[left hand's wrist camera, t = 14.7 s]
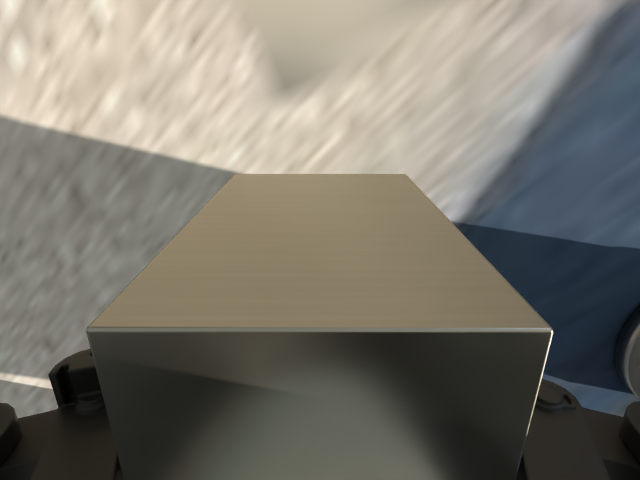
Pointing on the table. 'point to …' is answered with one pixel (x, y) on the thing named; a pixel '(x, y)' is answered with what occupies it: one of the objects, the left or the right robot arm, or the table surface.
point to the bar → (319, 342)
